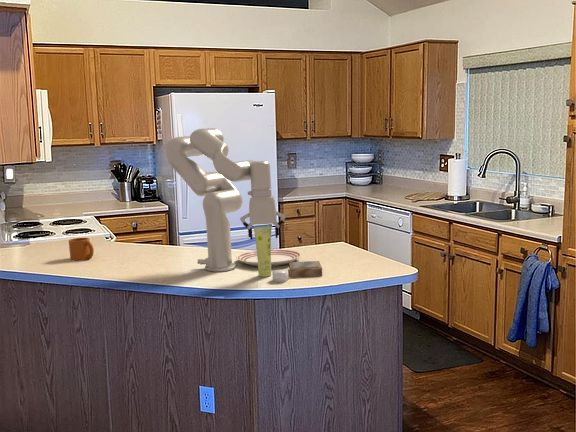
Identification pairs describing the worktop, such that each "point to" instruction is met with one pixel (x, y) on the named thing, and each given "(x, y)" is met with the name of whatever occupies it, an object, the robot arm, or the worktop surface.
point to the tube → (263, 249)
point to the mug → (80, 249)
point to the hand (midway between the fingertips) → (264, 238)
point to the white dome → (280, 275)
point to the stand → (305, 269)
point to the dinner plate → (277, 257)
